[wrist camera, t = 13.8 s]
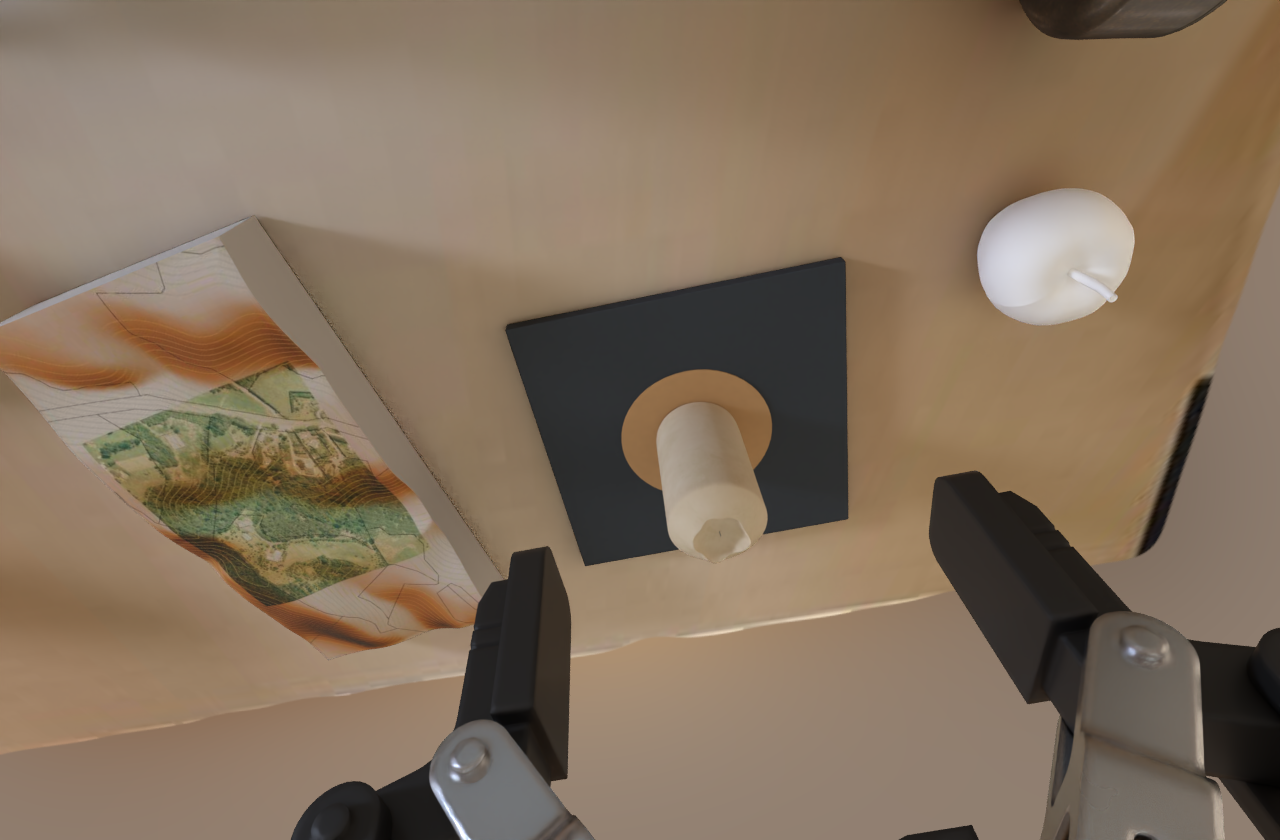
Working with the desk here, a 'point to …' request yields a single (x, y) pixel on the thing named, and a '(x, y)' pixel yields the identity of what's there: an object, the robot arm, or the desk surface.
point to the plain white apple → (1055, 256)
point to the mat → (693, 398)
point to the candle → (708, 483)
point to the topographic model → (251, 441)
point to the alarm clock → (1115, 17)
